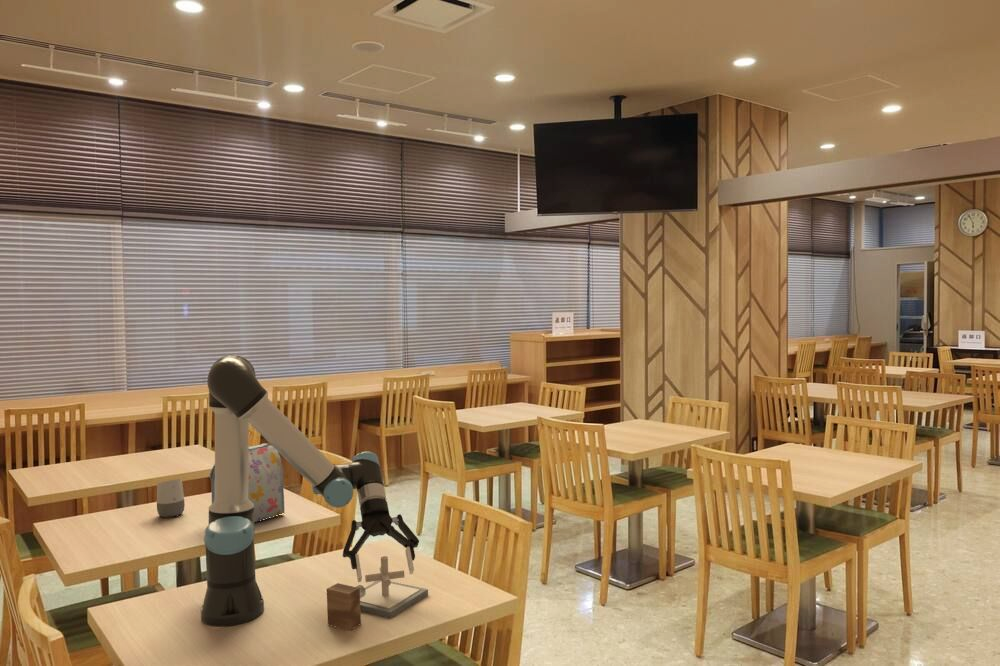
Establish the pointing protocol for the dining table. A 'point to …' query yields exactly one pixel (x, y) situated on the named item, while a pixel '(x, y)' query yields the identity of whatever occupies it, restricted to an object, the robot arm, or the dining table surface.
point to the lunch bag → (263, 482)
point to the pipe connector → (384, 576)
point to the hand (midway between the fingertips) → (386, 575)
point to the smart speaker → (170, 498)
